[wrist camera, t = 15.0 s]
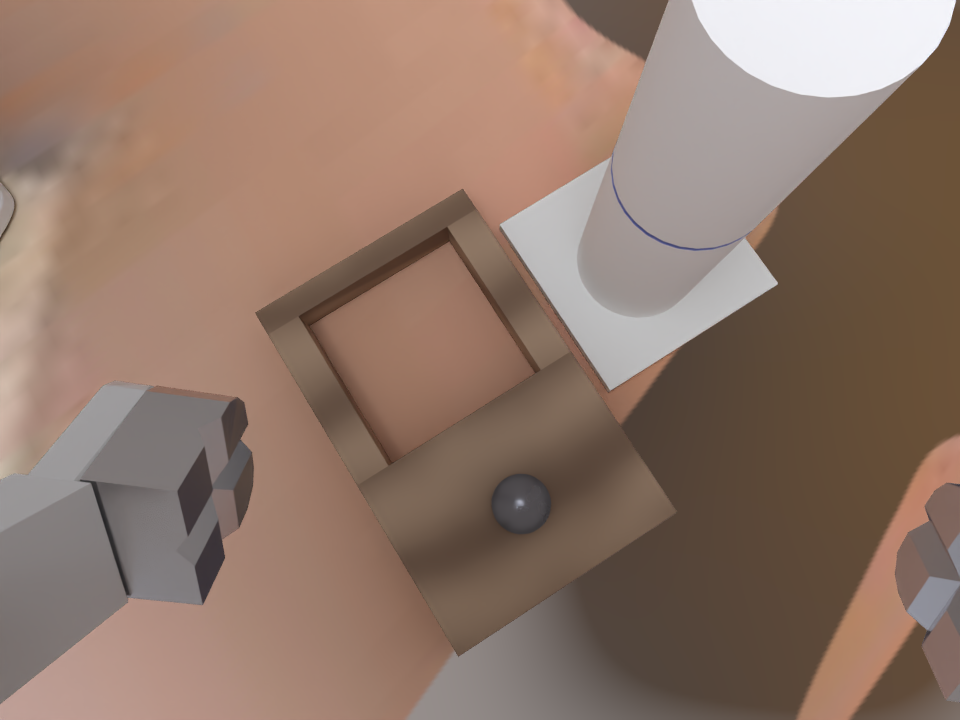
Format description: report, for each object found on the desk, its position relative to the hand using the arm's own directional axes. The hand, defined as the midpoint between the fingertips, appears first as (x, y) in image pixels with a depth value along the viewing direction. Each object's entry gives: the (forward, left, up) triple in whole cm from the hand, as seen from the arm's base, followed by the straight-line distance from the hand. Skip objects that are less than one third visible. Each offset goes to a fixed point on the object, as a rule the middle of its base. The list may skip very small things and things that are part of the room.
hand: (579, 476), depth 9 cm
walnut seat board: (-5, 0, -35) cm, 35 cm away
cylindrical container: (-7, +14, -34) cm, 37 cm away
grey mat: (-8, +14, -35) cm, 38 cm away
